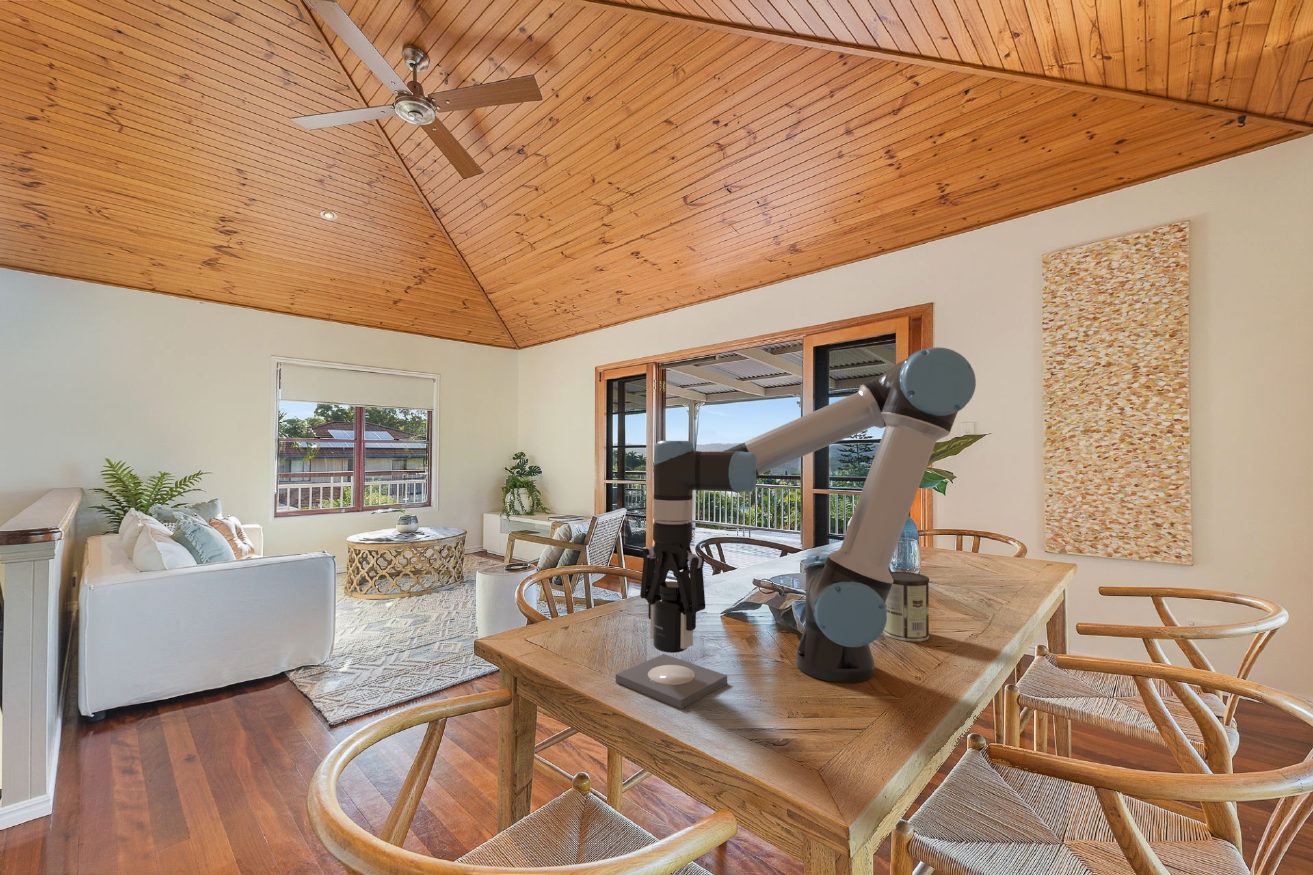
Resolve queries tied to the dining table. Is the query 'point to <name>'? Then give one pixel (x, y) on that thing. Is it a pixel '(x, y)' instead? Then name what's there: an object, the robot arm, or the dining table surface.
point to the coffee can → (908, 607)
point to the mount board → (671, 680)
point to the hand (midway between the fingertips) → (671, 641)
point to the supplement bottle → (668, 618)
